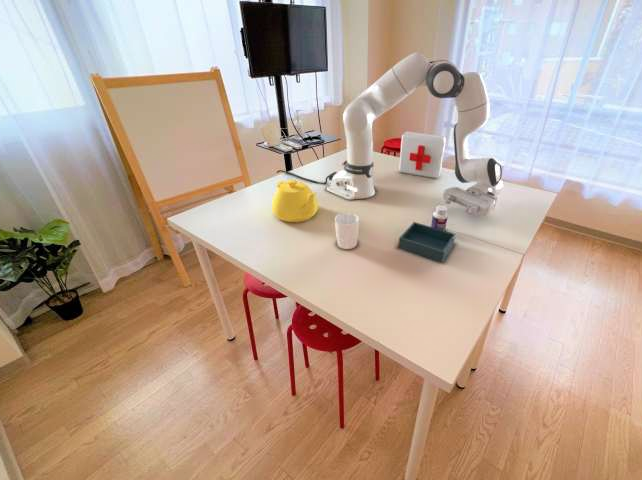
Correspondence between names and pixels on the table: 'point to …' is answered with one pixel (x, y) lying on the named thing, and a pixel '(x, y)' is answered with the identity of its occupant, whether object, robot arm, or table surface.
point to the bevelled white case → (421, 154)
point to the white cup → (346, 230)
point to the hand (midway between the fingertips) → (456, 206)
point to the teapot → (294, 201)
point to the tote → (427, 241)
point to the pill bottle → (439, 218)
